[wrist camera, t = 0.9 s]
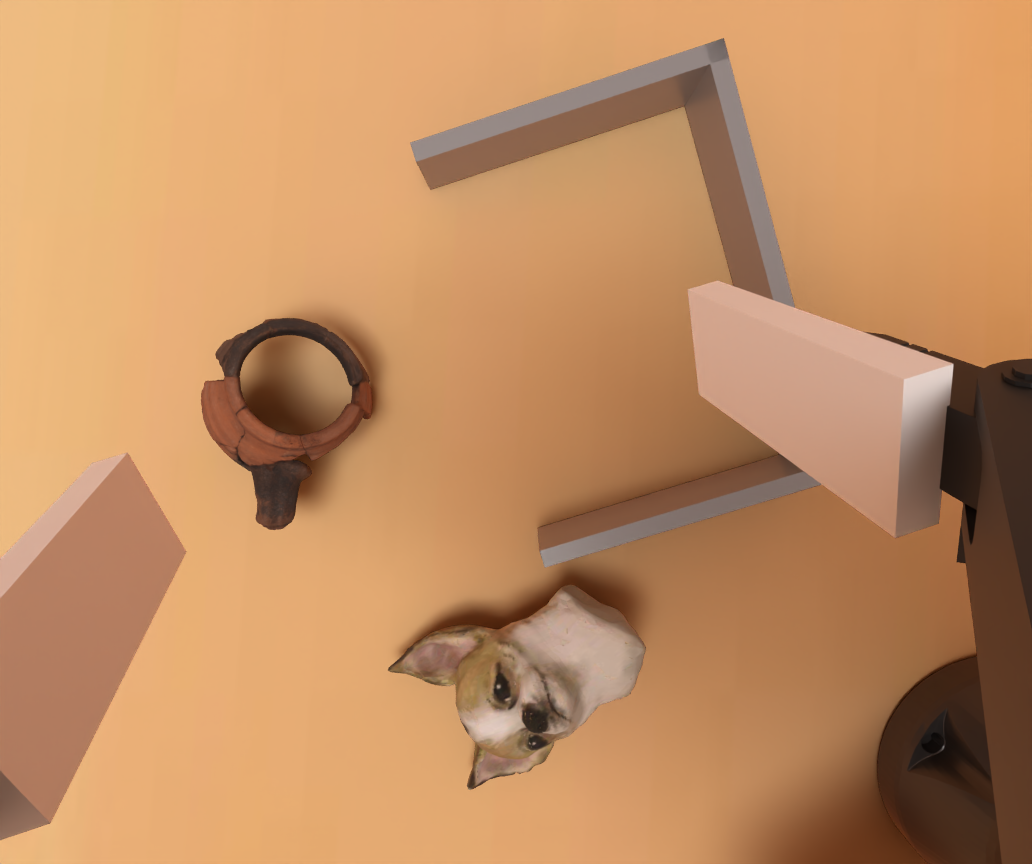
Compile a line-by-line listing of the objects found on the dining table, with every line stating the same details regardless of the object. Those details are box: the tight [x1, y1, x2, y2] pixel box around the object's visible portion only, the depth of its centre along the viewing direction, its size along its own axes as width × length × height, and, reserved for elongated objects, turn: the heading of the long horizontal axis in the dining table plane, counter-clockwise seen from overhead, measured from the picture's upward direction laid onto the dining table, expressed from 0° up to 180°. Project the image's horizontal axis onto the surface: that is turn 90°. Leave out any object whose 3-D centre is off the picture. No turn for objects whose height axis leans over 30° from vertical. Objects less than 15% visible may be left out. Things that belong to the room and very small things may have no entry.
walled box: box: [410, 38, 822, 567], centre depth 35 cm, size 24×17×5 cm
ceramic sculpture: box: [388, 585, 646, 790], centre depth 36 cm, size 11×9×15 cm
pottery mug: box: [201, 318, 372, 530], centre depth 36 cm, size 12×10×8 cm
